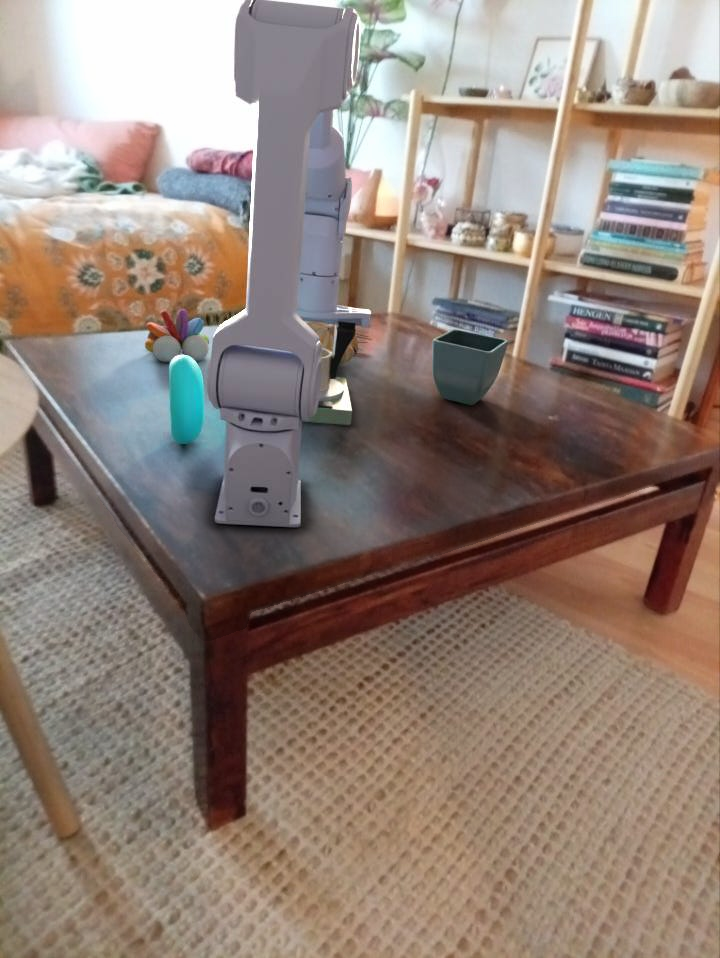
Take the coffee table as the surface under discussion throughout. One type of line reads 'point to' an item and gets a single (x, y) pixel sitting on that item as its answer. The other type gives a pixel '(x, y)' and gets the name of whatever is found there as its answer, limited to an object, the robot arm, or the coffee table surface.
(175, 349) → the rainbow peacock toy
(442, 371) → the flower pot
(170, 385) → the teal upright capsule
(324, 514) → the coffee table surface
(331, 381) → the scale
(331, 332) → the nautilus
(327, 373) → the white cup
